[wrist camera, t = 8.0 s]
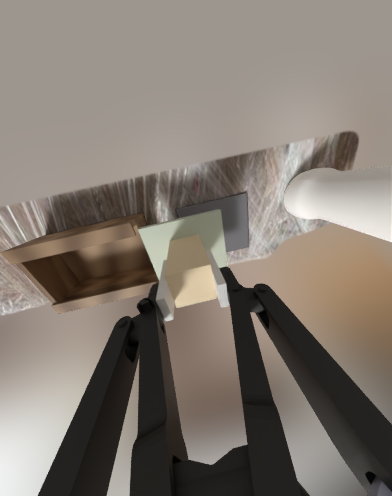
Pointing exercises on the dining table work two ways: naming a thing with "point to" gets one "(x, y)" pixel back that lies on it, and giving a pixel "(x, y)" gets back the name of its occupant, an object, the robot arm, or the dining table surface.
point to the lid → (187, 254)
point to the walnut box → (88, 263)
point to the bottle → (345, 198)
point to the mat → (226, 218)
